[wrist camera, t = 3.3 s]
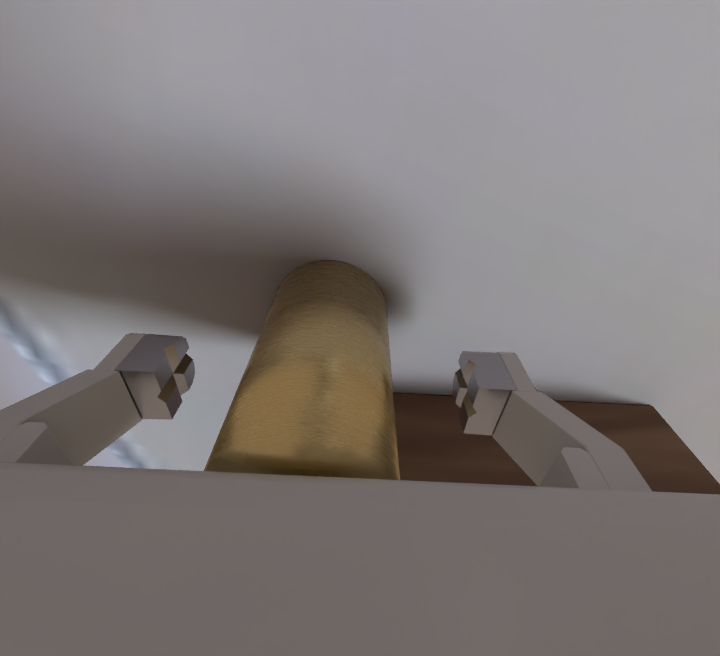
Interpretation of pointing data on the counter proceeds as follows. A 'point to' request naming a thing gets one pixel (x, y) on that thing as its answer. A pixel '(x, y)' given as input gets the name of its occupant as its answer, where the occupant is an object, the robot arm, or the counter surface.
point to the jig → (495, 466)
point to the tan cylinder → (316, 383)
